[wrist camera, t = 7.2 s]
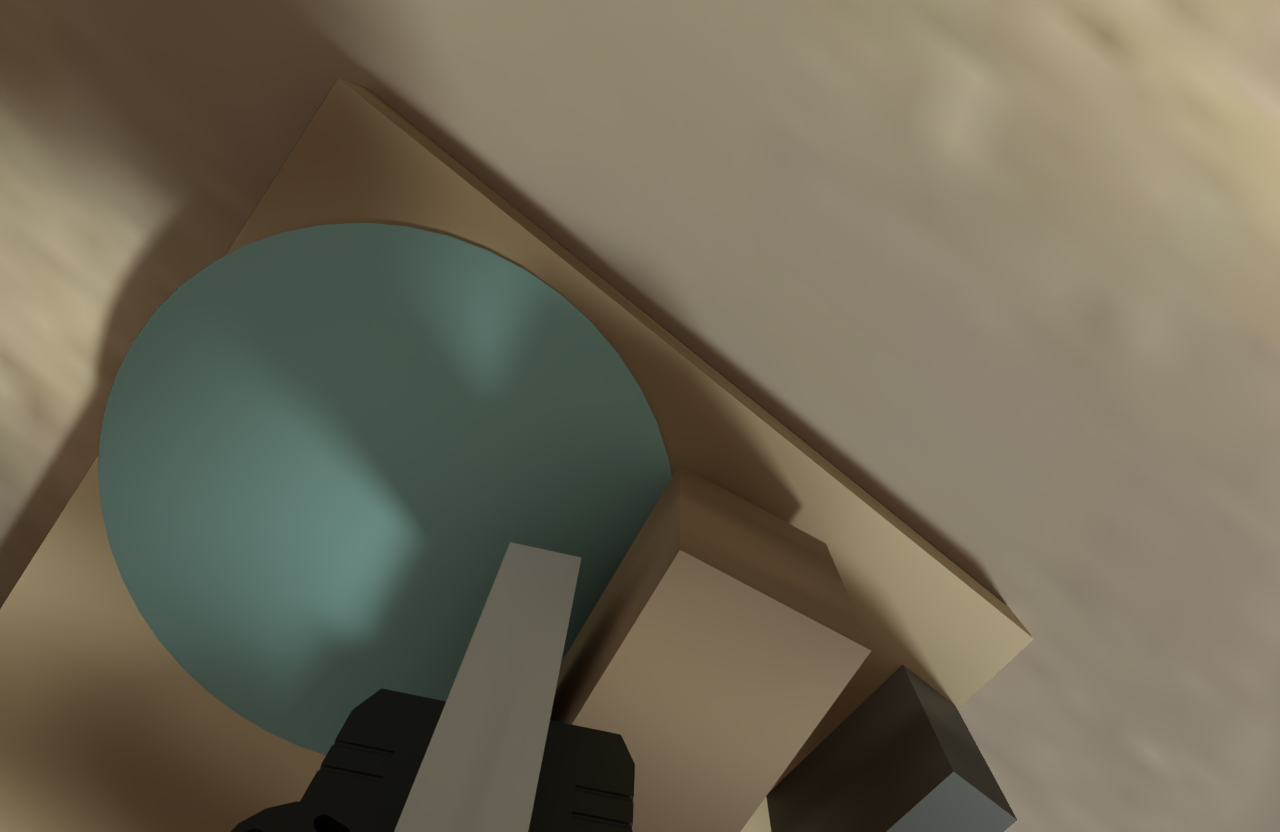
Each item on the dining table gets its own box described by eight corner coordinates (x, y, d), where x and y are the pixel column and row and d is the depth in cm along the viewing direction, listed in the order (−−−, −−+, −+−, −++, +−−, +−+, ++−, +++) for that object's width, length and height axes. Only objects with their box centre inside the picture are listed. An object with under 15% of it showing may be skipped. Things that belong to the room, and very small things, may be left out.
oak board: (496, 1089, 21) (385, 1640, 13) (-59, 741, 19) (-603, 1145, 11) (1009, 607, 16) (1314, 987, 9) (365, 87, 14) (-17, -45, 6)
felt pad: (456, 851, 17) (454, 858, 17) (8, 551, 16) (-1, 555, 16) (798, 482, 15) (799, 486, 15) (299, 84, 13) (293, 82, 13)
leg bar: (569, 932, 17) (536, 1155, 13) (432, 867, 17) (356, 1076, 13) (830, 545, 14) (888, 680, 10) (674, 462, 14) (673, 566, 10)
